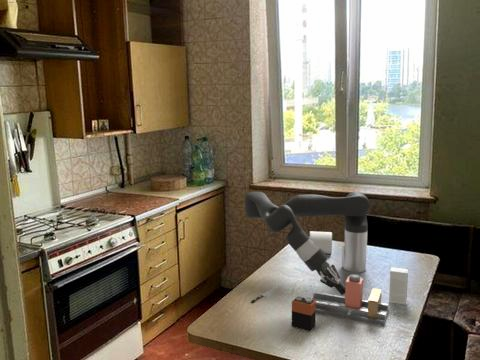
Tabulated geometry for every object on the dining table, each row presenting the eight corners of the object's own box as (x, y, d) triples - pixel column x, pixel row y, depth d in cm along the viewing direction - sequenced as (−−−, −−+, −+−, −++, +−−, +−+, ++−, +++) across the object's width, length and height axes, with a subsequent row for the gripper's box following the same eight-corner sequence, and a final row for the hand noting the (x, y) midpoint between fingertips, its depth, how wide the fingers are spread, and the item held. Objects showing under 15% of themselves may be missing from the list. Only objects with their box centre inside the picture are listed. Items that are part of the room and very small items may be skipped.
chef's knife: (283, 288, 182) (277, 285, 183) (284, 285, 182) (277, 283, 183) (256, 306, 167) (250, 303, 168) (257, 303, 166) (250, 300, 168)
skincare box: (406, 299, 169) (408, 268, 167) (406, 305, 165) (408, 273, 163) (388, 297, 171) (390, 266, 169) (388, 302, 167) (390, 271, 165)
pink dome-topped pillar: (344, 309, 159) (345, 278, 157) (347, 302, 164) (348, 272, 162) (359, 311, 157) (360, 280, 155) (362, 305, 162) (363, 275, 160)
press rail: (306, 311, 161) (306, 290, 160) (315, 297, 172) (315, 278, 171) (384, 325, 151) (385, 304, 150) (388, 309, 162) (389, 289, 160)
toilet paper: (309, 255, 215) (309, 235, 213) (309, 248, 225) (310, 228, 223) (331, 256, 213) (332, 236, 212) (331, 249, 223) (331, 229, 221)
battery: (310, 332, 147) (311, 302, 145) (290, 327, 151) (291, 298, 149) (315, 326, 151) (316, 297, 149) (296, 321, 154) (296, 293, 152)
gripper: (308, 254, 171) (341, 291, 168) (298, 266, 159) (332, 306, 156) (323, 242, 168) (356, 280, 165) (313, 254, 156) (349, 294, 153)
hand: (344, 293), depth 161 cm, fingers closed
